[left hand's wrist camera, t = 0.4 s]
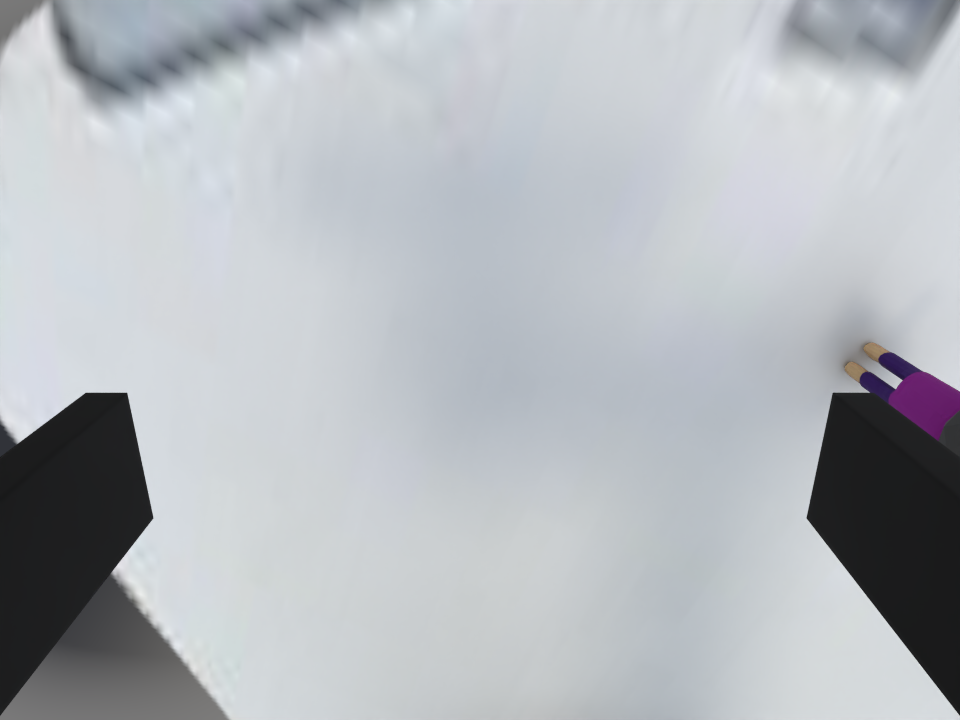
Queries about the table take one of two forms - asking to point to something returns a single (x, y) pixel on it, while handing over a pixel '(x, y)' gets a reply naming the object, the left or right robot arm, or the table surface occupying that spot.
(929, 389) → the toy
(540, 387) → the table surface
